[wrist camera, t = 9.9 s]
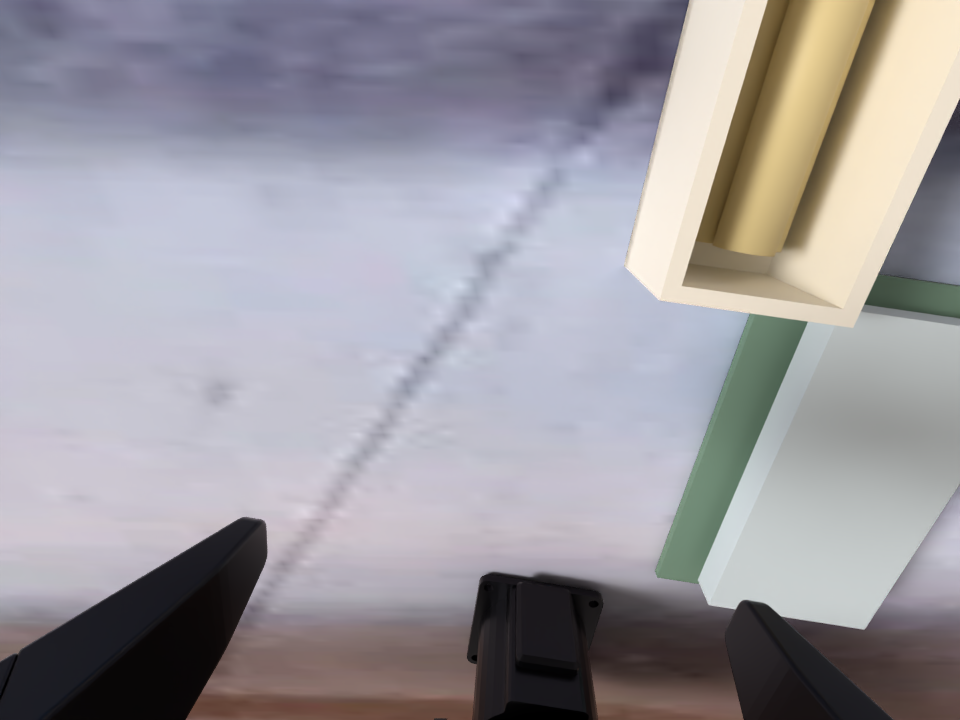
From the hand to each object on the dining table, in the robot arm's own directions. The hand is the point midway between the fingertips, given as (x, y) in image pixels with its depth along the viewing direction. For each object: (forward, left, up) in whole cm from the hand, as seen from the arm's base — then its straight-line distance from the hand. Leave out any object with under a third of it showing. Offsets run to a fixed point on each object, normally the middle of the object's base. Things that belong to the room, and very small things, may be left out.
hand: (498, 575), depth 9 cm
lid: (-3, -14, -11) cm, 18 cm away
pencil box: (+11, -7, -12) cm, 18 cm away
